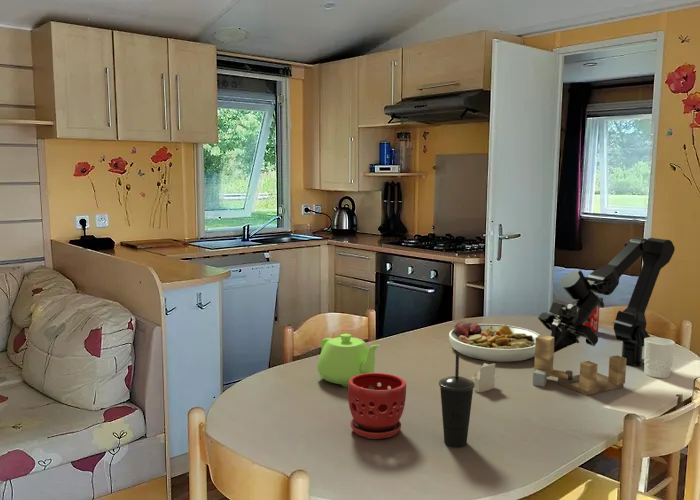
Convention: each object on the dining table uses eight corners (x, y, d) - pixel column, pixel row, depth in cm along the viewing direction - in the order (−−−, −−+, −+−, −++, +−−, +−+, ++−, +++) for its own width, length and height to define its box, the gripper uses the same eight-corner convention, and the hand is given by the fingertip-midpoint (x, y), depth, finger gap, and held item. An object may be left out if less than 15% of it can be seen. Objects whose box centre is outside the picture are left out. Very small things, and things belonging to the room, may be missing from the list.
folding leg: (574, 377, 173) (576, 340, 172) (569, 381, 170) (571, 343, 169) (538, 370, 179) (540, 334, 178) (534, 374, 176) (535, 337, 174)
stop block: (535, 381, 175) (535, 369, 174) (546, 383, 173) (546, 371, 173) (532, 384, 172) (533, 372, 172) (543, 386, 171) (544, 374, 170)
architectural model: (470, 390, 170) (470, 364, 169) (488, 385, 173) (489, 359, 172) (479, 394, 167) (480, 367, 166) (497, 389, 171) (498, 362, 170)
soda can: (596, 335, 221) (597, 302, 220) (577, 332, 225) (579, 299, 223) (599, 331, 226) (601, 298, 225) (581, 328, 230) (583, 296, 228)
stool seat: (594, 375, 180) (596, 348, 178) (624, 387, 170) (626, 358, 169) (557, 383, 174) (559, 354, 172) (587, 395, 164) (588, 365, 163)
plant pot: (402, 445, 136) (403, 392, 134) (343, 440, 138) (343, 388, 136) (408, 421, 149) (408, 372, 147) (353, 417, 151) (353, 369, 149)
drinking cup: (434, 435, 141) (435, 349, 138) (467, 434, 141) (470, 348, 138) (442, 451, 133) (444, 360, 130) (477, 449, 134) (480, 359, 131)
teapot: (396, 383, 174) (396, 337, 172) (360, 398, 163) (360, 349, 161) (339, 365, 189) (339, 323, 187) (302, 378, 178) (302, 333, 176)
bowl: (554, 346, 209) (555, 323, 208) (527, 371, 184) (528, 345, 183) (469, 333, 225) (469, 311, 224) (433, 354, 200) (434, 330, 199)
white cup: (675, 379, 176) (678, 345, 175) (645, 378, 178) (648, 343, 176) (667, 370, 184) (670, 337, 182) (638, 369, 185) (641, 336, 184)
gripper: (544, 285, 185) (513, 326, 182) (593, 298, 168) (559, 343, 165) (563, 308, 190) (533, 348, 187) (612, 323, 173) (580, 368, 170)
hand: (550, 351), depth 177 cm, fingers closed
